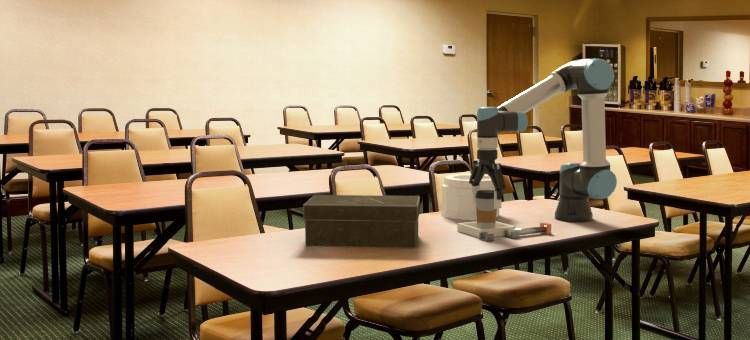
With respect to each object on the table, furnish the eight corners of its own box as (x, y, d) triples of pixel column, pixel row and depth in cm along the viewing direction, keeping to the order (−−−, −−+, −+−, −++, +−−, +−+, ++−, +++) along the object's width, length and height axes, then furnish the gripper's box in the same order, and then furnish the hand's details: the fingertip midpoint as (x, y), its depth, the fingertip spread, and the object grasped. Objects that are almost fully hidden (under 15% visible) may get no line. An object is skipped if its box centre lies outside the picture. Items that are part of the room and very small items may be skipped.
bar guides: (510, 235, 290) (511, 229, 289) (519, 237, 285) (519, 231, 285) (479, 239, 283) (479, 232, 283) (486, 241, 279) (487, 234, 279)
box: (417, 249, 268) (417, 205, 266) (303, 247, 272) (302, 204, 270) (419, 236, 290) (420, 195, 288) (314, 234, 294) (313, 194, 292)
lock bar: (544, 231, 296) (544, 222, 296) (551, 233, 293) (551, 224, 292) (504, 236, 288) (505, 226, 288) (511, 238, 284) (511, 228, 284)
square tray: (490, 227, 305) (491, 219, 305) (515, 234, 292) (515, 226, 291) (457, 231, 298) (457, 223, 298) (480, 238, 285) (480, 230, 284)
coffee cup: (496, 233, 290) (497, 193, 288) (474, 232, 292) (474, 192, 290) (497, 229, 298) (498, 190, 296) (475, 228, 300) (476, 189, 298)
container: (469, 208, 351) (469, 172, 349) (511, 215, 333) (512, 177, 332) (430, 215, 334) (430, 177, 332) (473, 222, 317) (473, 182, 315)
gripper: (460, 146, 301) (459, 202, 303) (499, 152, 279) (498, 211, 281) (476, 145, 304) (476, 200, 307) (516, 150, 282) (515, 209, 285)
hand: (486, 205), depth 294 cm, fingers open, 13 cm apart
